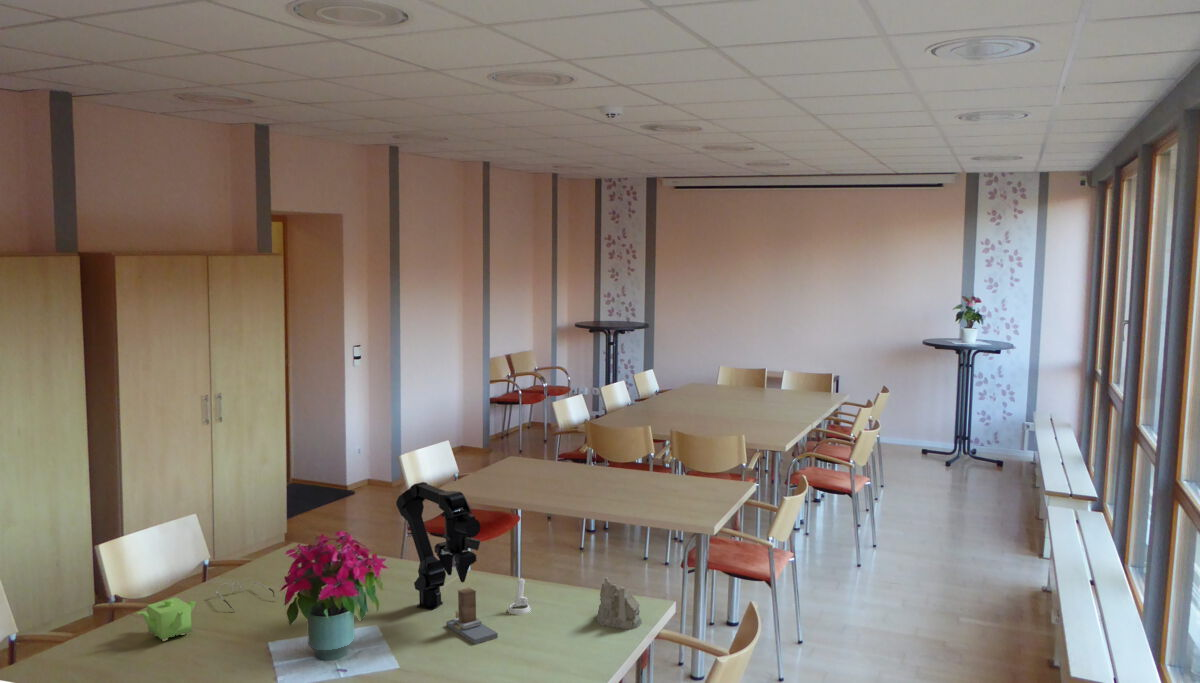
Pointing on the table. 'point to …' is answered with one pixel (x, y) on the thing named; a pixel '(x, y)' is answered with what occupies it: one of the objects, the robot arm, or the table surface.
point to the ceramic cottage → (618, 607)
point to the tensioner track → (473, 631)
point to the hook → (519, 600)
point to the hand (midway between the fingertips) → (456, 578)
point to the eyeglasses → (240, 588)
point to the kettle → (169, 617)
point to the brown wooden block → (467, 609)
